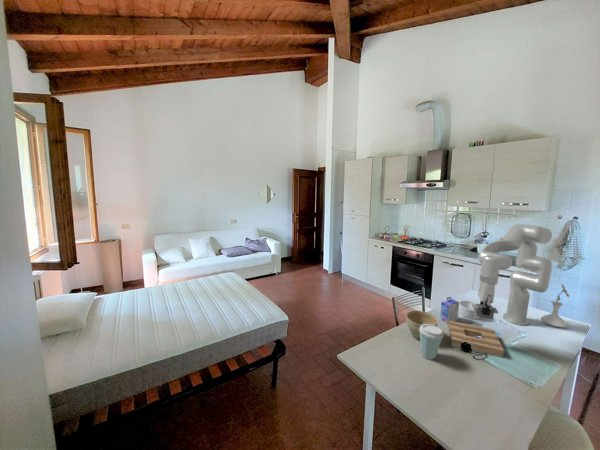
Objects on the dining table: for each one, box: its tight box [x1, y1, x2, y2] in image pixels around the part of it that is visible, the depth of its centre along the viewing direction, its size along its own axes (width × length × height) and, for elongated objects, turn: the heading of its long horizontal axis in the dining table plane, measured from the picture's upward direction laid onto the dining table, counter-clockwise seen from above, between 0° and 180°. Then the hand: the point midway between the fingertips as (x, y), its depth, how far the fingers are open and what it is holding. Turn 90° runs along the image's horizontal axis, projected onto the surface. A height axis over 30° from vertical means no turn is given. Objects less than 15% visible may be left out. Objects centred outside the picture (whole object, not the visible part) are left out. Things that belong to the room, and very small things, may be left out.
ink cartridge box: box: [439, 296, 460, 324], centre depth 161 cm, size 10×6×14 cm, turn 115°
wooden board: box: [447, 321, 505, 359], centre depth 141 cm, size 20×22×4 cm
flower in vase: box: [540, 284, 570, 328], centre depth 157 cm, size 13×11×25 cm
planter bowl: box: [405, 310, 439, 340], centre depth 145 cm, size 16×16×11 cm
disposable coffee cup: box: [419, 324, 444, 360], centre depth 128 cm, size 11×11×15 cm
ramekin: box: [458, 300, 481, 320], centre depth 168 cm, size 13×13×7 cm
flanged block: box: [472, 302, 499, 320], centre depth 137 cm, size 5×10×5 cm, turn 66°
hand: (484, 311), depth 137 cm, fingers closed on flanged block, 5 cm apart
